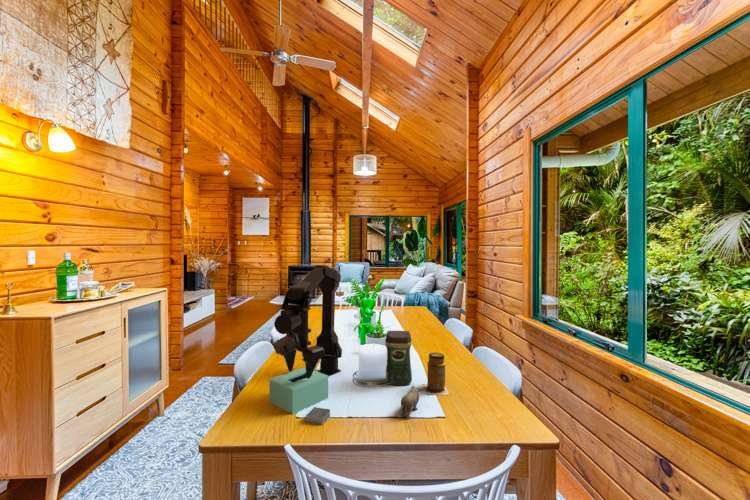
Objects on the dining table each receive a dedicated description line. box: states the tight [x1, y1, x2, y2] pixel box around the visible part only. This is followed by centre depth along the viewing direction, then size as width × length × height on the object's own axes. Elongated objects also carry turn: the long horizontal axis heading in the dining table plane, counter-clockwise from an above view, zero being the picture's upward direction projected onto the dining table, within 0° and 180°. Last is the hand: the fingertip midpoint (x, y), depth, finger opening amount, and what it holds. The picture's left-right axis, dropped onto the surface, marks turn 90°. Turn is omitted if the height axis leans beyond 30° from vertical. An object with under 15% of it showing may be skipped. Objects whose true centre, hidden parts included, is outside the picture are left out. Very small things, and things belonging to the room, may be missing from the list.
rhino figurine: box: [400, 385, 422, 420], centre depth 107 cm, size 4×14×6 cm, turn 156°
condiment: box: [423, 351, 450, 396], centre depth 121 cm, size 7×8×12 cm
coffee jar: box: [384, 330, 413, 386], centre depth 128 cm, size 10×8×19 cm
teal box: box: [268, 366, 329, 415], centre depth 113 cm, size 14×12×7 cm
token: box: [305, 406, 331, 426], centre depth 101 cm, size 5×5×2 cm
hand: (299, 374), depth 113 cm, fingers open, 9 cm apart
